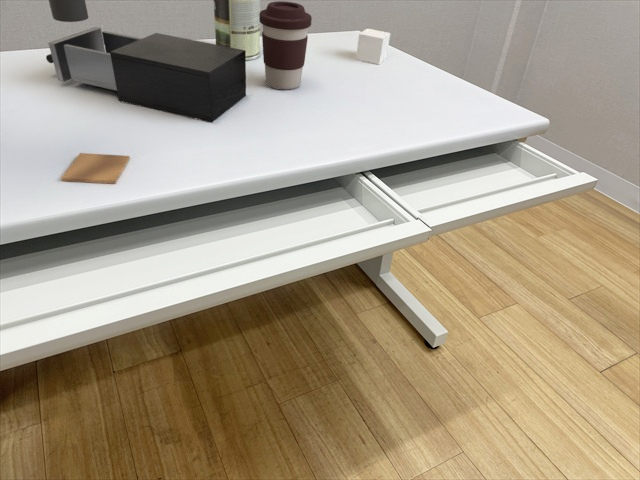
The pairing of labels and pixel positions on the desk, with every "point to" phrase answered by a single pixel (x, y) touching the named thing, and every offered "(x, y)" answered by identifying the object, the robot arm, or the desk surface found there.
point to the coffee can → (238, 25)
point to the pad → (96, 168)
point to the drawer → (87, 56)
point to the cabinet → (180, 76)
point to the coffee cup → (284, 43)
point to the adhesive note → (372, 46)
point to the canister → (68, 10)
